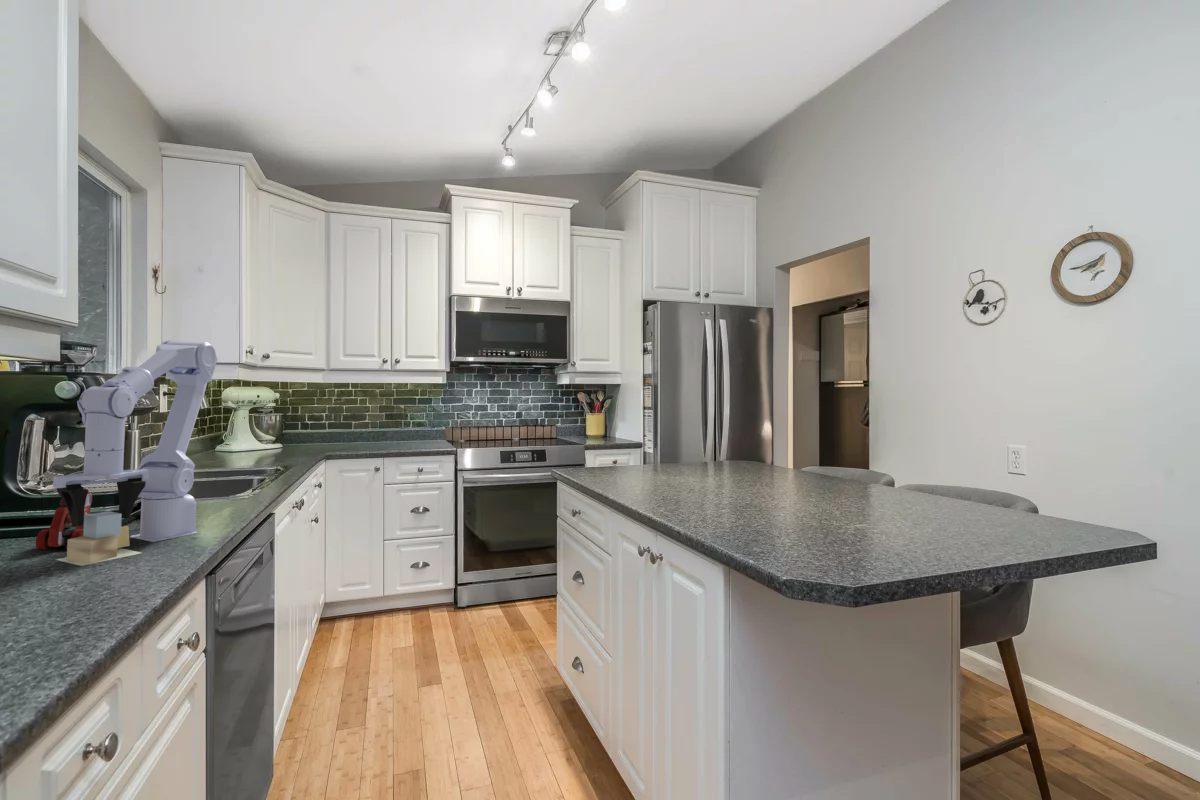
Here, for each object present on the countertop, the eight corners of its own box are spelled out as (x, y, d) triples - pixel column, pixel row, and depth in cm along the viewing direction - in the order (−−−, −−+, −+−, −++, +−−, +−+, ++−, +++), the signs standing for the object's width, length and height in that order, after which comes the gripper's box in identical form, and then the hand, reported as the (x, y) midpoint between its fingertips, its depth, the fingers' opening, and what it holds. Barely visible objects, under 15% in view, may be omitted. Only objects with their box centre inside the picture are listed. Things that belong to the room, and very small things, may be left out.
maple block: (94, 554, 111) (95, 533, 111) (116, 556, 110) (117, 535, 110) (66, 561, 106) (67, 539, 106) (90, 563, 105) (91, 541, 105)
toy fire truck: (28, 555, 110) (30, 500, 110) (65, 539, 122) (67, 490, 122) (73, 554, 112) (75, 500, 112) (105, 538, 124) (107, 490, 124)
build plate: (117, 549, 116) (117, 547, 116) (142, 554, 113) (142, 552, 113) (55, 561, 107) (55, 559, 107) (81, 567, 104) (81, 565, 104)
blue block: (108, 531, 112) (108, 511, 112) (120, 534, 111) (121, 513, 111) (83, 536, 109) (84, 514, 109) (96, 538, 107) (97, 517, 107)
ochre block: (112, 547, 117) (110, 527, 118) (129, 545, 117) (128, 525, 117) (92, 551, 113) (91, 531, 114) (110, 549, 113) (109, 529, 113)
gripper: (70, 454, 102) (67, 531, 102) (159, 448, 115) (156, 517, 115) (47, 451, 104) (44, 526, 104) (136, 446, 118) (134, 513, 118)
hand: (101, 521), depth 110 cm, fingers open, 7 cm apart
